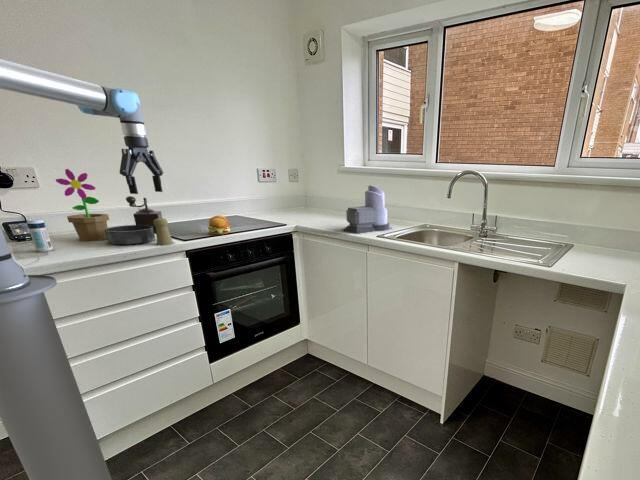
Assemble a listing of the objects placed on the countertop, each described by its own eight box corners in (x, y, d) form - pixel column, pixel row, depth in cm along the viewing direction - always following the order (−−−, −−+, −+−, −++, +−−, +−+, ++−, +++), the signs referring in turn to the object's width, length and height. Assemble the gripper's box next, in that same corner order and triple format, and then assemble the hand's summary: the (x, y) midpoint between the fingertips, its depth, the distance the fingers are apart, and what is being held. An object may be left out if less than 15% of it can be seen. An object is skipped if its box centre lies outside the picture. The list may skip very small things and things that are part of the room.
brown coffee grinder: (140, 229, 182) (131, 193, 175) (165, 228, 186) (157, 193, 180) (132, 235, 169) (123, 196, 162) (159, 234, 173) (151, 196, 167)
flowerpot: (69, 242, 151) (45, 168, 140) (79, 236, 162) (58, 167, 151) (110, 240, 157) (91, 169, 146) (117, 234, 169) (99, 168, 158)
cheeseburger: (226, 230, 186) (225, 212, 181) (234, 238, 181) (233, 220, 176) (205, 232, 180) (204, 213, 175) (213, 240, 174) (212, 221, 169)
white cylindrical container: (51, 248, 140) (41, 218, 136) (55, 250, 138) (44, 220, 133) (35, 250, 137) (24, 219, 132) (38, 252, 134) (27, 221, 130)
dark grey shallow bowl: (135, 246, 148) (132, 232, 146) (97, 244, 149) (93, 230, 147) (164, 238, 164) (161, 225, 162) (129, 237, 165) (126, 224, 163)
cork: (161, 242, 157) (156, 217, 153) (175, 242, 158) (170, 217, 154) (154, 245, 152) (148, 219, 148) (169, 245, 152) (163, 219, 148)
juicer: (377, 224, 220) (377, 184, 211) (396, 228, 210) (397, 185, 202) (340, 230, 199) (339, 185, 190) (359, 234, 189) (358, 187, 180)
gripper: (149, 138, 149) (160, 190, 156) (98, 132, 125) (113, 194, 133) (166, 139, 148) (176, 191, 156) (117, 133, 125) (131, 195, 132)
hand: (147, 192), depth 144 cm, fingers open, 13 cm apart
